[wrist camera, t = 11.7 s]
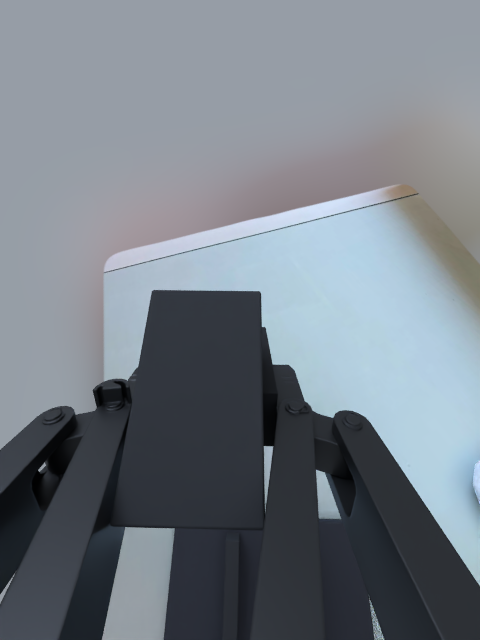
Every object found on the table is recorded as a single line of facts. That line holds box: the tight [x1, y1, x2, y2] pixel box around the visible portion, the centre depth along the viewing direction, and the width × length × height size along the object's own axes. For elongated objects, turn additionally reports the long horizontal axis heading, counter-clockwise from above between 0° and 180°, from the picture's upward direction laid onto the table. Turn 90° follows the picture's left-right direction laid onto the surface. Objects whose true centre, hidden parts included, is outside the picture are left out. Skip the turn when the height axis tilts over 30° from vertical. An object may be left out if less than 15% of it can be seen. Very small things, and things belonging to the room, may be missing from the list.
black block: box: [110, 290, 265, 531], centre depth 13 cm, size 4×7×11 cm, turn 179°
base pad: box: [164, 519, 374, 640], centre depth 22 cm, size 18×14×3 cm
